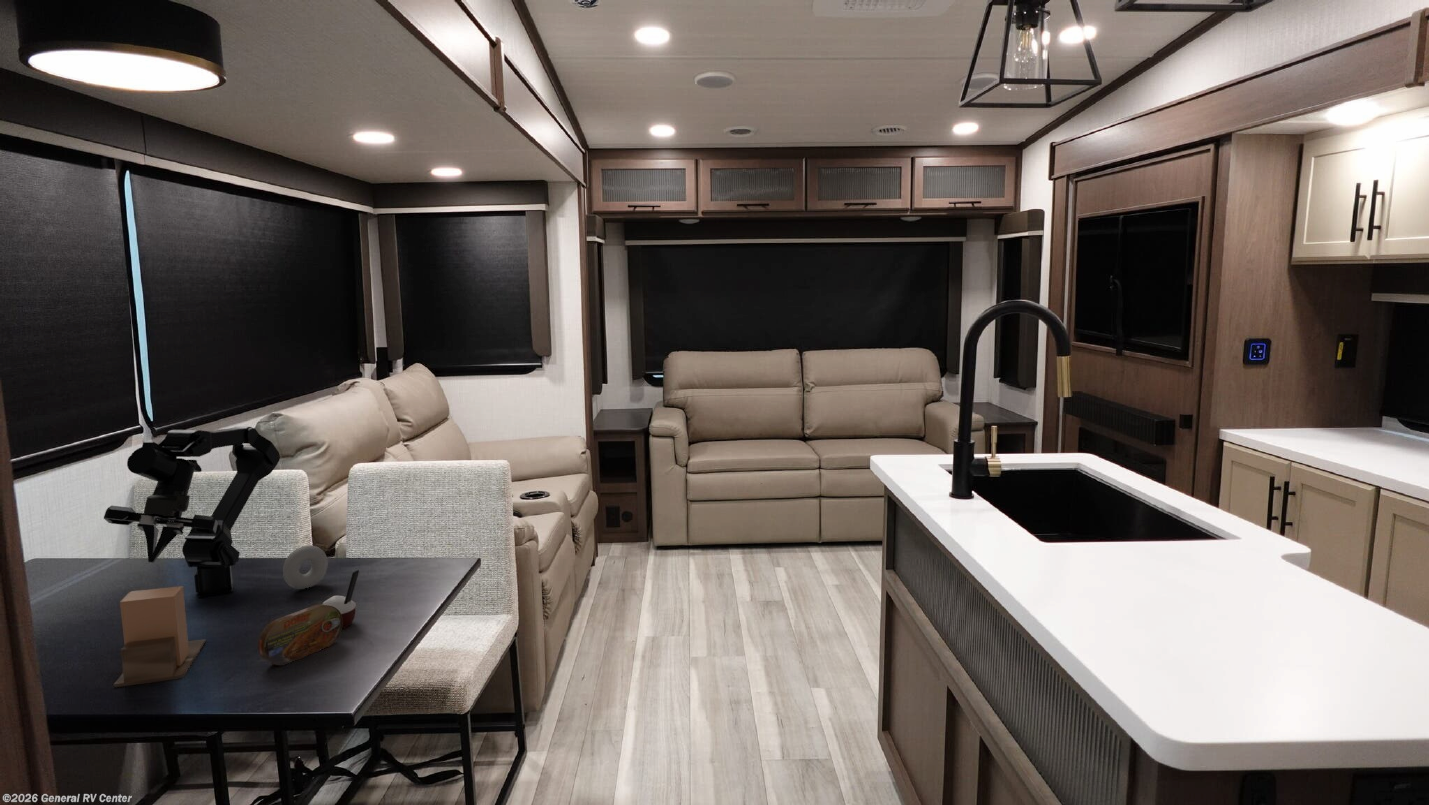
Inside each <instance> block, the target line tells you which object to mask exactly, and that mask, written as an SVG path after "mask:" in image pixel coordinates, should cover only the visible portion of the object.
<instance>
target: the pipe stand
mask: <svg viewBox="0 0 1429 805" xmlns="http://www.w3.org/2000/svg"><path fill="white" fill-rule="evenodd" d="M205 642H207V639H206V638H203V639H194V640H188V645H189V654H188V656H187V657H186V659H185V660H184V662H183V663H182V665H180V666H177V658H176V647H175V637H167V638H159V639H151V640H143V641H134V642H127V643H126V644H125V645H123V647H122V648H120V654H121V655H120V657H121V664H122V674H121V675H120V676H119V677H118V678H117V680H116V681H115V682H114V683H113V688H120V687H121V688H122V687H128V686H134V685H143V684H150V683H155V682H164V681H171V680H179V679H180V680H181V679H183V678H184V676H185V675H186V673H187V672H188V671H187V670H189V669H190V668H191V666H190V665H193V663H194V661H195V660H196V658H197V657H198V655H199V654H200V652H201V651H200V649H201V648H202V647H203V648H204V646H205V645H204V643H205ZM205 644H206V643H205ZM203 645H204V646H203ZM203 648H202V649H203ZM202 649H201V650H202ZM198 653H199V654H198ZM197 654H198V655H197ZM196 656H197V657H196ZM194 659H195V660H194ZM192 662H193V663H192ZM188 668H189V669H188Z"/></svg>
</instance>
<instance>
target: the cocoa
mask: <svg viewBox="0 0 1429 805" xmlns="http://www.w3.org/2000/svg"><path fill="white" fill-rule="evenodd" d="M359 572H360V571H359V569H358V570H355V571H353V572H352V574H351V578H350V581H349V585H348V587H347V591H346V594H345V596H344V595H333V596H332V597H329V598H328V599H326V600H325V601H323V603H322V604H321V605H328V606H333V607H335V608H337V609H338V610H339V611H340V613H341V615H342V618H343V626H342V628H343V629H345V628H344V627H346V628H347V627H349V626H350V625H352V623H353V621H354V620H355V617H356V607H357V604H356V602H355V601H353V600H352V598H353V595H354V594H353V593H354V591H355V587H356V584H357V580H358V576H359Z"/></svg>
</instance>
